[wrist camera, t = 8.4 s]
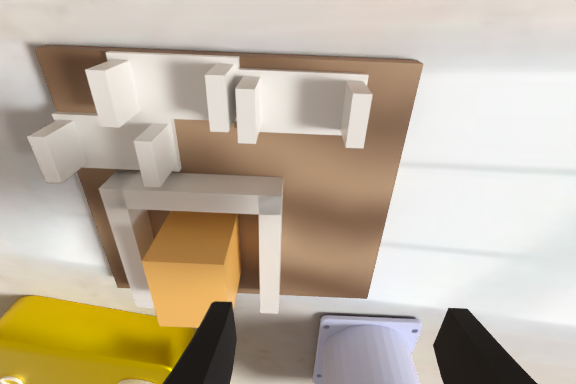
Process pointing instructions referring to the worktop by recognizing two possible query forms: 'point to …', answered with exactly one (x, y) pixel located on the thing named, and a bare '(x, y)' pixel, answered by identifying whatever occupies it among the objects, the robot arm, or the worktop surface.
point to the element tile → (85, 344)
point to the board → (277, 170)
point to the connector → (193, 266)
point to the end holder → (195, 198)
